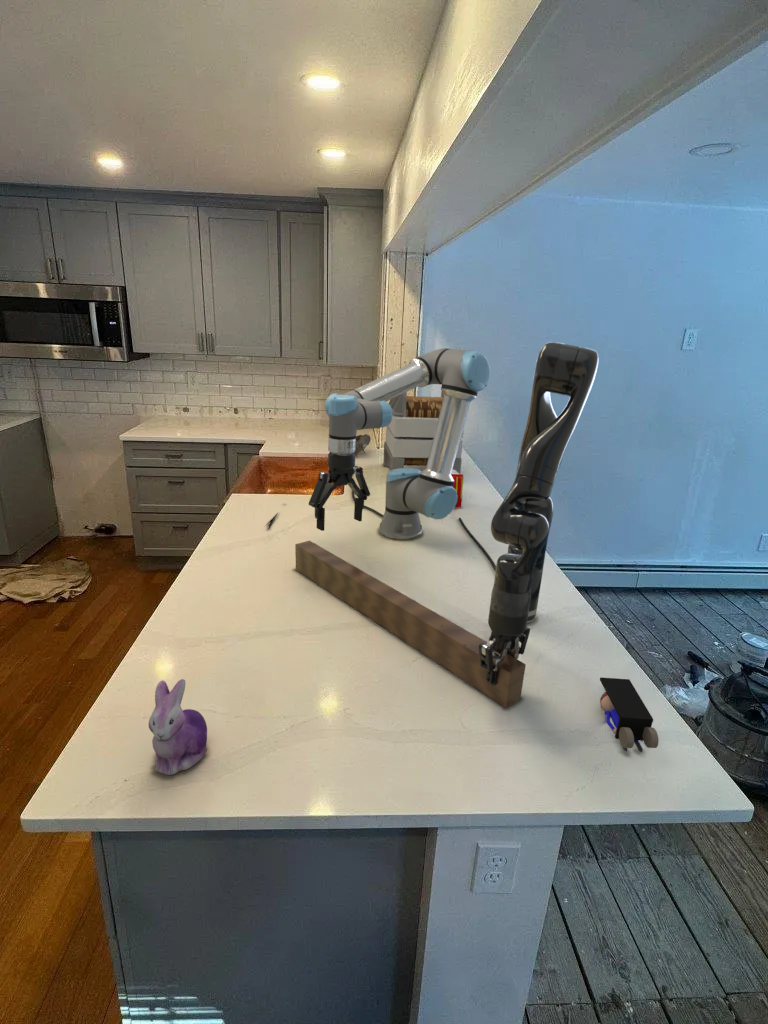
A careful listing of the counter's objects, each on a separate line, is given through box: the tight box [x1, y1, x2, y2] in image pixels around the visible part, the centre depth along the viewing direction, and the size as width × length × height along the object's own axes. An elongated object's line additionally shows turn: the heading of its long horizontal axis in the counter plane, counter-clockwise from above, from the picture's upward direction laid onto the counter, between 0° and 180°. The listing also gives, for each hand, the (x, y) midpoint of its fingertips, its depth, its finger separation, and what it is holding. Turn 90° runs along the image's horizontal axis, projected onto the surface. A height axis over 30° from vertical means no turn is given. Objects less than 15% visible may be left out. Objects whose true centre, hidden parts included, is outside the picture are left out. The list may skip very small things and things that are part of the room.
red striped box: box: [451, 470, 464, 508], centre depth 240 cm, size 12×13×30 cm
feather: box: [265, 512, 279, 530], centre depth 210 cm, size 2×28×2 cm
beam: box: [294, 540, 526, 709], centre depth 142 cm, size 78×5×8 cm, turn 41°
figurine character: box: [599, 676, 660, 753], centre depth 108 cm, size 7×8×15 cm
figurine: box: [148, 678, 208, 776], centre depth 96 cm, size 9×10×15 cm
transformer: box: [383, 391, 465, 474], centre depth 268 cm, size 34×33×41 cm
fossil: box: [354, 433, 372, 456], centre depth 305 cm, size 22×10×15 cm
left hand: (339, 524), depth 163 cm, fingers open, 13 cm apart
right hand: (499, 678), depth 117 cm, fingers closed on beam, 5 cm apart
